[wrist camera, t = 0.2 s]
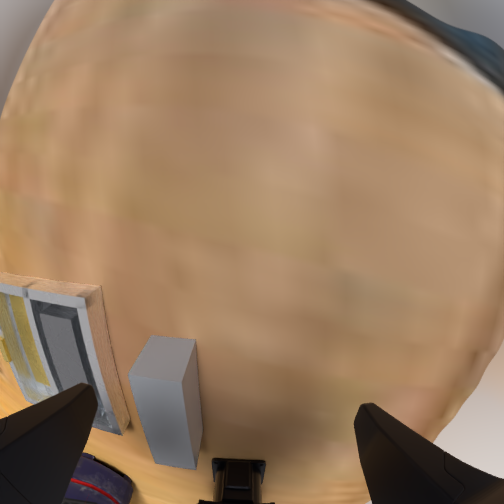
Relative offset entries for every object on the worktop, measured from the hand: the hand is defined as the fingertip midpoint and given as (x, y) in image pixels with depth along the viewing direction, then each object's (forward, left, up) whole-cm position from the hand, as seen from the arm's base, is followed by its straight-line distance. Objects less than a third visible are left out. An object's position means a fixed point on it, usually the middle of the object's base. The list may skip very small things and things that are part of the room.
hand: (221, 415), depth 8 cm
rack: (-10, +20, -14) cm, 26 cm away
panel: (-12, +6, -14) cm, 19 cm away
